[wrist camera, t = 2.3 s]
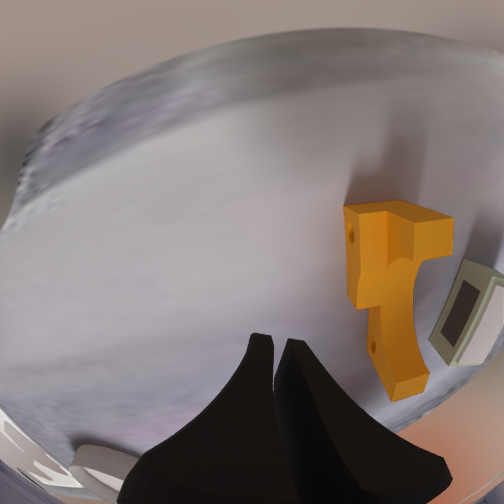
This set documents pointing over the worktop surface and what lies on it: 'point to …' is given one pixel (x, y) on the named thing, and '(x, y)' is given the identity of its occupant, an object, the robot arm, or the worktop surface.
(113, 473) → the dish
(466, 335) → the pale green block
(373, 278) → the pipe clamp
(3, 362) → the worktop surface
